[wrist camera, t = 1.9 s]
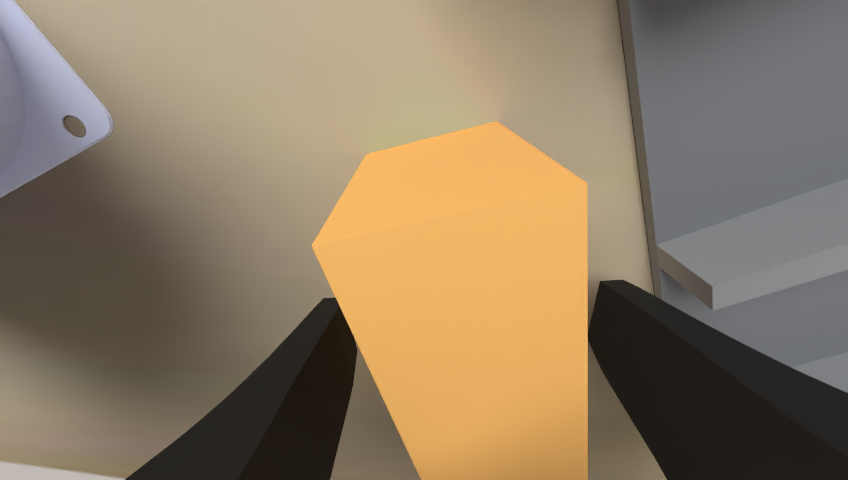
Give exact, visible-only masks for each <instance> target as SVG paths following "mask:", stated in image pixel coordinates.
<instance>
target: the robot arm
mask: <svg viewBox="0 0 848 480" xmlns="http://www.w3.org/2000/svg"><path fill="white" fill-rule="evenodd" d="M67 115H71V116H74V117H77V118H78V119H79V120H80V121H82V123H83V124H84V126H85V127H86V135H85V136H84V137H81V138H80V137H77V136H74V135H72V134H71V133H70V132H69V131H68V130H67V129H66V127H65V126H64V120H63V119H64V118H65V116H67ZM113 126H114V125H113V121H112V117H111V115H110V114H109V112H108V111H107V109H106V108H105V107H104V106H103V104H102V103H101V102H100V101H99V100H98V98H97V97H96V96H95V95H94V94H93V93H92V91H91V90H90V89H89V88H88V87H87V86H86V84H85V83H84V82H83V81H82V80H81V79H80V77H79V76H78V75H77V74H76V73H75V71H74V70H73V69H72V68H71V67H70V66H69V64H68V63H67V62H66V61H65V60H64V59H63V57H62V56H61V55H60V54H59V53H58V52H57V50H56V49H55V48H54V47H53V46H52V44H51V43H50V42H49V41H48V40H47V39H46V37H45V36H44V35H43V34H42V33H41V32H40V30H39V29H38V28H37V27H36V26H35V24H34V23H33V22H32V21H31V20H30V19H29V17H28V16H27V15H26V14H25V13H24V12H23V10H22V9H21V8H20V7H19V6H18V5H17V3H16V2H15V1H14V0H0V198H1V197H3V196H5V195H6V194H8V193H10V192H12V191H13V190H15V189H17V188H19V187H20V186H22V185H24V184H26V183H28V182H29V181H31V180H33V179H35V178H36V177H38V176H40V175H42V174H43V173H45V172H47V171H49V170H51V169H52V168H54V167H56V166H58V165H59V164H61V163H63V162H65V161H66V160H68V159H70V158H72V157H73V156H75V155H77V154H79V153H81V152H82V151H84V150H86V149H88V148H89V147H91V146H93V145H95V144H96V143H98V142H100V141H102V140H103V139H105V138H107V137H108V136H109V135H110V134H111V133H112V132H113ZM588 340H589V343H590V345H591V347H592V350H593V352H594V354H595V357H596V359H597V361H598V363H599V365H600V367H601V369H602V372H603V373H604V375H605V377H606V378H607V380H608V382H609V383H610V385H611V387H612V388H613V390H614V392H615V393H616V395H617V397H618V398H619V400H620V402H621V403H622V405H623V407H624V408H625V410H626V411H627V413H628V415H629V416H630V418H631V420H632V421H633V423H634V425H635V426H636V428H637V429H638V431H639V433H640V434H641V436H642V438H643V439H644V441H645V443H646V444H647V446H648V447H649V449H650V451H651V452H652V454H653V456H654V457H655V459H656V461H657V463H658V464H659V466H660V468H661V470H662V471H663V473H664V475H665V477H666V478H667V480H848V393H847V392H844V391H842V390H840V389H838V388H835V387H833V386H831V385H829V384H826V383H824V382H822V381H820V380H817V379H815V378H813V377H811V376H808V375H806V374H804V373H802V372H800V371H798V370H796V369H794V368H791V367H789V366H787V365H785V364H783V363H781V362H779V361H777V360H775V359H773V358H771V357H769V356H767V355H765V354H763V353H761V352H759V351H757V350H755V349H753V348H751V347H749V346H747V345H745V344H743V343H741V342H739V341H737V340H735V339H733V338H731V337H729V336H727V335H725V334H723V333H722V332H720V331H718V330H716V329H714V328H712V327H710V326H708V325H707V324H705V323H703V322H701V321H699V320H697V319H696V318H694V317H692V316H690V315H688V314H686V313H685V312H683V311H681V310H679V309H677V308H676V307H674V306H672V305H670V304H668V303H666V302H665V301H663V300H661V299H659V298H657V297H656V296H654V295H652V294H650V293H648V292H646V291H644V290H642V289H641V288H639V287H637V286H635V285H633V284H631V283H629V282H626V281H624V280H611V281H600V284H599V288H598V292H597V297H596V301H595V305H594V309H593V314H592V318H591V322H590V326H589V331H588ZM356 356H357V348H356V343H355V339H354V336H353V334H352V331H351V329H350V327H349V325H348V323H347V321H346V319H345V316H344V314H343V312H342V310H341V308H340V306H339V304H338V302H337V299H336V298H323V299H322V300H321V302H320V303H319V304H318V305H317V306H316V307H315V308H314V309H313V310H312V311H311V312H310V313H309V314H308V315H307V317H306V318H305V319H304V320H303V321H302V322H301V323H300V324H299V325H298V326H297V327H296V329H295V330H294V331H293V332H292V333H291V334H290V335H289V336H288V337H287V338H286V339H285V340H284V341H283V342H282V344H281V345H280V346H279V347H278V348H277V349H276V350H275V351H274V352H273V353H272V354H271V355H270V356H269V357H268V358H267V359H266V360H265V361H264V362H263V363H262V364H261V365H260V366H259V367H258V368H257V369H256V370H255V371H254V372H253V373H252V374H251V375H250V376H249V377H248V378H247V379H246V380H245V381H243V382H242V383H241V384H240V385H239V386H238V387H237V388H236V389H235V390H234V391H233V392H232V393H231V394H230V395H229V396H228V397H226V398H225V399H224V400H223V401H222V402H221V403H220V404H219V405H217V406H216V407H215V408H214V409H213V410H212V411H211V412H209V413H208V414H207V415H206V416H205V417H204V418H202V419H201V420H200V421H199V422H198V423H196V424H195V425H194V426H193V427H192V428H190V429H189V430H188V431H187V432H186V433H184V434H183V435H182V436H181V437H180V438H178V439H177V440H176V441H175V442H173V443H172V444H171V445H169V446H168V447H167V448H165V449H164V450H163V451H162V452H160V453H159V454H158V455H156V456H155V457H154V458H152V459H151V460H150V461H149V462H147V463H146V464H145V465H143V466H142V467H141V468H139V469H138V470H137V471H136V472H134V473H133V474H132V475H130V476H129V477H128V478H126V479H125V480H330V477H331V473H332V469H333V465H334V461H335V457H336V453H337V449H338V445H339V440H340V436H341V432H342V428H343V424H344V420H345V416H346V412H347V408H348V404H349V400H350V396H351V391H352V387H353V380H354V373H355V365H356Z"/></svg>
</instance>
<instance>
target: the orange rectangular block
mask: <svg viewBox="0 0 848 480" xmlns="http://www.w3.org/2000/svg"><path fill="white" fill-rule="evenodd" d="M312 248H313V250H314V252H315V255H316V257H317V259H318V261H319V263H320V265H321V267H322V269H323V272H324V274H325V276H326V278H327V280H328V282H329V284H330V287H331V289H332V291H333V293H334V295H335V297H336V299H337V302H338V304H339V306H340V308H341V310H342V312H343V314H344V316H345V319H346V321H347V323H348V325H349V327H350V329H351V331H352V334H353V336H354V338H355V340H356V342H357V344H358V346H359V348H360V351H361V353H362V355H363V357H364V359H365V361H366V363H367V366H368V368H369V370H370V372H371V374H372V376H373V378H374V381H375V383H376V385H377V387H378V389H379V391H380V393H381V395H382V398H383V400H384V402H385V404H386V406H387V408H388V410H389V413H390V415H391V417H392V419H393V421H394V423H395V425H396V427H397V430H398V432H399V434H400V436H401V438H402V440H403V442H404V445H405V447H406V449H407V451H408V453H409V455H410V457H411V460H412V462H413V464H414V466H415V468H416V470H417V472H418V474H419V477H420V479H421V480H588V264H587V183H586V182H585V181H583V180H582V179H580V178H579V177H577V176H576V175H575V174H573V173H572V172H570V171H569V170H567V169H566V168H564V167H563V166H561V165H560V164H559V163H557V162H556V161H554V160H553V159H551V158H550V157H548V156H547V155H545V154H544V153H543V152H541V151H540V150H538V149H537V148H535V147H534V146H532V145H531V144H529V143H528V142H527V141H525V140H524V139H522V138H521V137H519V136H518V135H516V134H515V133H513V132H512V131H511V130H509V129H508V128H506V127H505V126H503V125H502V124H500V123H499V122H497V121H495V122H491V123H487V124H483V125H479V126H475V127H472V128H468V129H464V130H460V131H456V132H452V133H448V134H444V135H440V136H436V137H432V138H428V139H424V140H420V141H416V142H412V143H408V144H404V145H400V146H396V147H392V148H389V149H385V150H381V151H377V152H373V153H369V154H366V156H365V157H364V159H363V161H362V162H361V164H360V166H359V167H358V169H357V171H356V172H355V174H354V176H353V177H352V179H351V181H350V182H349V184H348V186H347V187H346V189H345V191H344V192H343V194H342V196H341V197H340V199H339V201H338V202H337V204H336V206H335V207H334V209H333V211H332V212H331V214H330V216H329V217H328V219H327V221H326V222H325V224H324V226H323V227H322V229H321V231H320V233H319V234H318V236H317V238H316V239H315V241H314V243H313V244H312Z"/></svg>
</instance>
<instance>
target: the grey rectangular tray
mask: <svg viewBox="0 0 848 480" xmlns="http://www.w3.org/2000/svg"><path fill="white" fill-rule="evenodd" d="M618 7H619V15H620V23H621V31H622V39H623V47H624V55H625V63H626V71H627V79H628V87H629V95H630V103H631V111H632V119H633V127H634V135H635V143H636V151H637V159H638V167H639V175H640V183H641V190H642V198H643V206H644V214H645V222H646V230H647V238H648V246H649V254H650V262H651V270H652V278H653V286H654V294H655V296H656V297H657V298H659V299H661V300H663V301H665V302H666V303H668V304H670V305H672V306H674V307H676V308H677V309H679V310H681V311H683V312H685V313H686V314H688V315H690V316H692V317H694V318H696V319H697V320H699V321H701V322H703V323H705V324H707V325H708V326H710V327H712V328H714V329H716V330H718V331H720V332H722V333H723V334H725V335H727V336H729V337H731V338H733V339H735V340H737V341H739V342H741V343H743V344H745V345H747V346H749V347H751V348H753V349H755V350H757V351H759V352H761V353H763V354H765V355H767V356H769V357H771V358H773V359H775V360H777V361H779V362H781V363H783V364H785V365H787V366H789V367H791V368H794V369H796V370H798V371H800V372H802V373H804V374H806V375H808V376H811V377H813V378H815V379H817V380H820V381H822V382H824V383H826V384H829V385H831V386H833V387H835V388H838V389H840V390H842V391H844V392H847V393H848V0H618Z"/></svg>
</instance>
